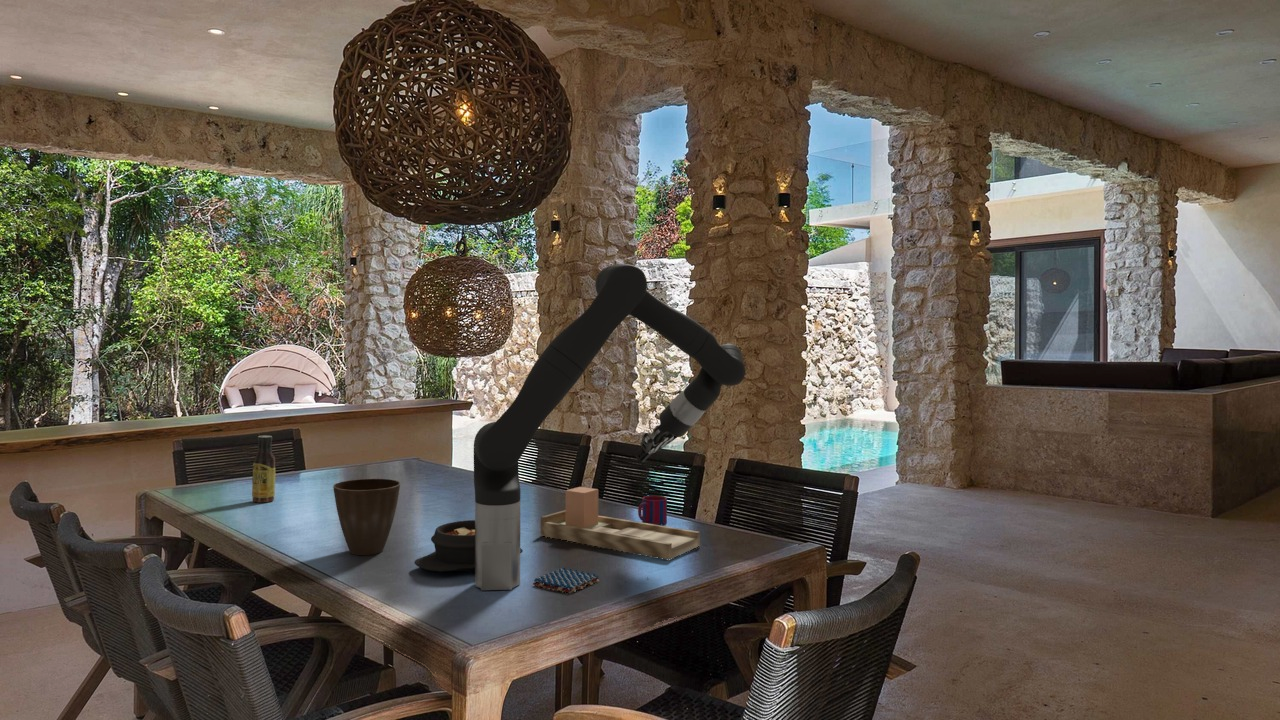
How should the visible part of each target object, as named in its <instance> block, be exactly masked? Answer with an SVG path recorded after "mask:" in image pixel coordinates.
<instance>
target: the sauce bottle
mask: <svg viewBox="0 0 1280 720" xmlns="http://www.w3.org/2000/svg"><path fill="white" fill-rule="evenodd" d="M257 442H258V444H257V451H256V454H255V458H254V459H253V463H252V479H251V481H252V484H251V485H252V487H251V488H252V489H251V490H252V491H251V493H252V494H251V496H252V502H253V503H259V504H264V503H265V504H266V503H269V502H273V501H274V500H275V495H276V493H275V492H276V489H275V488H276V456H275V455H274V454H273V451H272V450H273V448H272V445H273V444H272V443H273V436H272V435H258V436H257Z"/></svg>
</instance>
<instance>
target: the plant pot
mask: <svg viewBox="0 0 1280 720" xmlns="http://www.w3.org/2000/svg"><path fill="white" fill-rule="evenodd" d="M400 487H401V482H400V481H398V480H396V479H391V478H389V479H387V478H359V479H358V478H357V479H350V480H344V481H343V480H342V481H340V482H337V483H335V484H334V485H333V486H332V488H333V494H334V495H333V496H334V501H335V502H334V503H335V507H336V512H337V516H338V520H339V525H340V528H341V530H342V531H341V532H342V535H343V537H344V540H345V543H346V545H347V547H348V550H349V553H350V554H352V555H355V556H372V555H377V554H379V553H382V552H383V551H384V549H385V546H386V543H387V541H388V538H389V535H390V532H391V529H392V526H393V524H394V523H393V522H394V518H395V514H396V510H397V505H398V501H399V495H400Z"/></svg>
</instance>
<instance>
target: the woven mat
mask: <svg viewBox="0 0 1280 720" xmlns="http://www.w3.org/2000/svg"><path fill="white" fill-rule="evenodd" d="M533 581H534V582H533V583H532V586H533V585H536V586H539V587H538V588H540V587H543V588H542V589H545V588H550V589H554V590H557V591H556V592H558V591H562V592H561V593H563V592H565V594H567V593H566V592H569V593H574V592H575V593H577V592H576V590H579V589H582V590H583V589H584V588H583V587H586V585H588V586H592V585H594V584H593V583H599V582H600V578H599V575H596V573H592V574H591V573H590V572H584V571H582V570H581V571H578V570H577V569H575V570H572V568H568V569H566V567H561V568H558V569H557V570H552V571H551V572H548V573H546V574H543V575H540V576H539V577H537V578H536V577H535V578H534V580H533ZM594 581H595V582H594ZM543 583H544V584H543ZM589 584H590V585H589ZM536 586H535V587H536ZM561 587H562V588H561ZM578 588H579V589H578ZM550 589H549V590H550ZM554 590H553V591H554ZM564 590H565V591H564Z"/></svg>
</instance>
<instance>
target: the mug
mask: <svg viewBox="0 0 1280 720" xmlns="http://www.w3.org/2000/svg"><path fill="white" fill-rule="evenodd" d="M637 514H638V518H639V519H640V521H641V522H643V523H648V524H655V525H661V524H664V525H666V524H667V523H668V521H667V520H668V517H667V516H668V498H667V497H666V496H664V495H663V496H662V495H646V496H643V497H642V501H641V503H639V505H638V509H637ZM661 526H662V525H661Z"/></svg>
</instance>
